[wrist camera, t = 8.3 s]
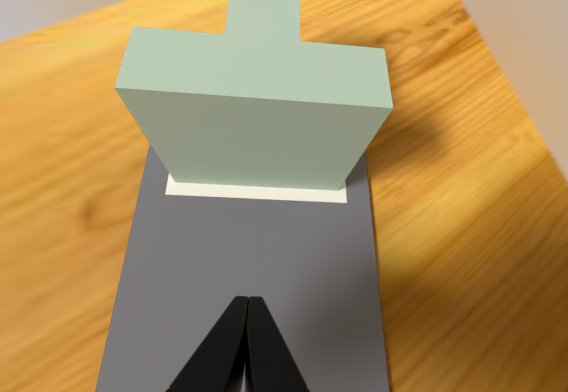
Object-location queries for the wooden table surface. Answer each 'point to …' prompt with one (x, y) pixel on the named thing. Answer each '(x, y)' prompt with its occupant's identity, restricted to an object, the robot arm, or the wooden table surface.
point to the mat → (248, 279)
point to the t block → (255, 100)
